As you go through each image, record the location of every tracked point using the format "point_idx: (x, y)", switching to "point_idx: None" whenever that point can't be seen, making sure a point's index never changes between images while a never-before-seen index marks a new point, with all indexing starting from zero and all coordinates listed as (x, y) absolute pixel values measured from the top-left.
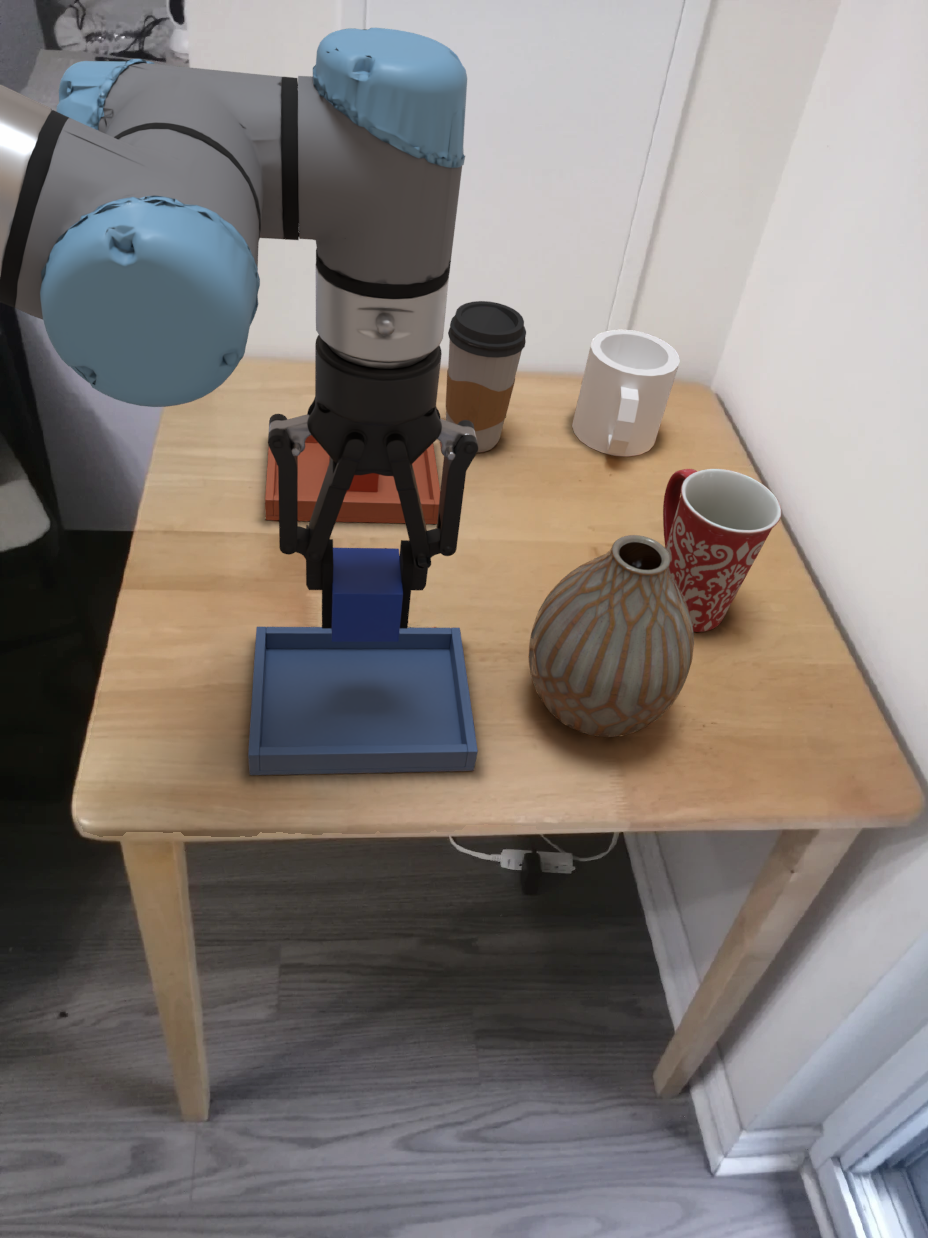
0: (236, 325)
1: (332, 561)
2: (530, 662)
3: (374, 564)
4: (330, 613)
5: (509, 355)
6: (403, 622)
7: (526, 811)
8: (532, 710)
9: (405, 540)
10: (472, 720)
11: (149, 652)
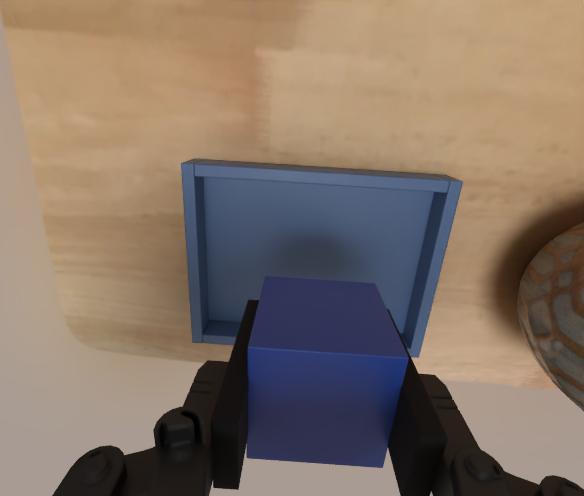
0: None
1: (236, 484)
2: (536, 310)
3: (340, 400)
4: None
5: None
6: None
7: (441, 375)
8: (498, 275)
9: (432, 439)
10: (426, 323)
11: (67, 159)
